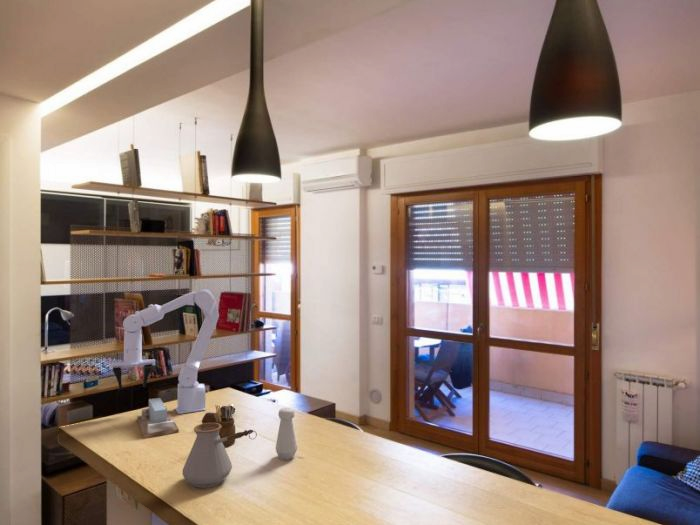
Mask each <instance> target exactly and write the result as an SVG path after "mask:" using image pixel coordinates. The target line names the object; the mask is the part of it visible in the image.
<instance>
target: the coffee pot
mask: <svg viewBox="0 0 700 525" xmlns="http://www.w3.org/2000/svg"><path fill="white" fill-rule="evenodd" d="M221 427H222V426H221V424H218V423H204V424H202V423H200V424H197V425H196V426H194V428H193V430H194V433H195V434H196V437H195V440H194V442H193V445H192V447H191V449H190V452H189V454H188V455H187V458H186V461H185V463H184V465H183V468H182V476H183V479H185V480H186V482H188V483H189V484H190V485H191V486H193V487H196V488H200V489H201V488H211V487H214V486H217V484H218V485H219V483H220V484H221V483H222V482H224V480H225V479H227V477H229V474H230V472H231V471H232V468H233V464H232V461H231V459H230V456H229V455H228V453H227V451H226V448H225V447H224V445H223V443H222V442H224V441H227V440H233V439H235V440H236V439H241V438H243V437H247V436H248V438H249V439H251V440H255V439H256V438H257V437H258V436H257V432H256V430H254V429H248V430H247V429H245V430H244V431H239V432H235V434H233V435H230V436H228V437H225V438H222V439H221V438H220V436H219V431H220V429H221ZM253 433H255V437H254V438H251V436H250V435H251V434H253Z"/></svg>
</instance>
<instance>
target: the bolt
mask: <svg viewBox="0 0 700 525" xmlns="http://www.w3.org/2000/svg"><path fill="white" fill-rule="evenodd" d="M227 406H228V405H222V406H221V407H220V410H221V416H220V418H222V417H231V416H232V415H233V416H234V414H235V412H236V408H235V406H234V405H233V406H232V405H229V406H228V407H227ZM230 406H231V408H230ZM227 408H228V409H227ZM232 408H233V410H232ZM229 409H230V411H229ZM225 412H227V415H226V414H225ZM232 412H234V413H232ZM229 414H230V415H229ZM231 414H232V415H231ZM233 416H232V417H233ZM217 419H219V416H218V415H217V412H216V411H215V412H211V411H210V412H205V414H204V415H203V417H202V419H201V424H204V423H216V420H217Z"/></svg>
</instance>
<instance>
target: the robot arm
mask: <svg viewBox="0 0 700 525" xmlns="http://www.w3.org/2000/svg"><path fill="white" fill-rule="evenodd" d="M195 305H196V306H197V307H199V309H201V310H202V312H203V315H204V320H203V322H202V324H201V327H200V329H199V332H198V333H197V337H196V339H195V342H194V344H193V346H192V348H191V351H190V354H189V356H188V357H187V360H186V362H185V364H184V365H183V366H182V367H181V368H180V370H179V374H178V379H177V380H178V383H177V402H176V403H177V405H176V406H175V407H174V410H175V411H176V412H177V414H178V415H181V414H186V413H194V412H200V411H206V386H205V383H199V381H198V371H199V367H200V366H201V365H200V364H201V362H202V359H203V357H204V354H205V351H206V350H207V347H208V344H209V342H210V340H211V337H212V335H213V332H214V330H215V328H216V326H217V322H218V320H219V318H220V313H219V310H218V306H217V301H216V298H215V296H214V294H213V293H212V292H211V291H210V289H206V288H201V289H199V290H198V291H191V292H188V293H186V294H183V295H181V296H179V297H177V298H174V299H173V300H171V301H168V302H167V303H164V304H162V305H159V304H156V303H155V304H152V303H151V304H149V305H148V307H146V308H144V309H142V310H137V311H134V314H130V315H128V316H126V318H124V320H123V323H122V327H123V329H124V331H123V333H124V336H123V361H115V362H109V365H108V366H109V370H110V371H111V370H112V371H113V374H114V375H115V378H116V381H117V383H118V389H119V390H120V391H122V389H123V387H122V386H123V383H122V369H127V368H135V367H136V368H137V367H143V369H142V370H143V379H142V381H143V382H142V386H143V388H146V387H147V383H148V379H149V376H150V374H151V372H152V369H153V366H156V359H155V358H152V359H150V358H149V359H143V356H142V355H143V354H142V352H143V350H142V349H143V335H142V327H147V326H150V325H152V324H155V322H158V321H160V320H162V319H163V318H164V316H165V314H167V313H170V312H172V311H175V310H176V309H179V308H182V307H184V306H195Z"/></svg>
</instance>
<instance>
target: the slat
mask: <svg viewBox="0 0 700 525" xmlns="http://www.w3.org/2000/svg"><path fill="white" fill-rule="evenodd" d="M165 406H166V405H165V404H164V402H163V400H162V399H161V397H157V398H149V399H148V408H149V419H150V421H151V423H152V424H153V423H160V422H166V421H167V412H168V408H167V407H165ZM166 408H167V409H166Z"/></svg>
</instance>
